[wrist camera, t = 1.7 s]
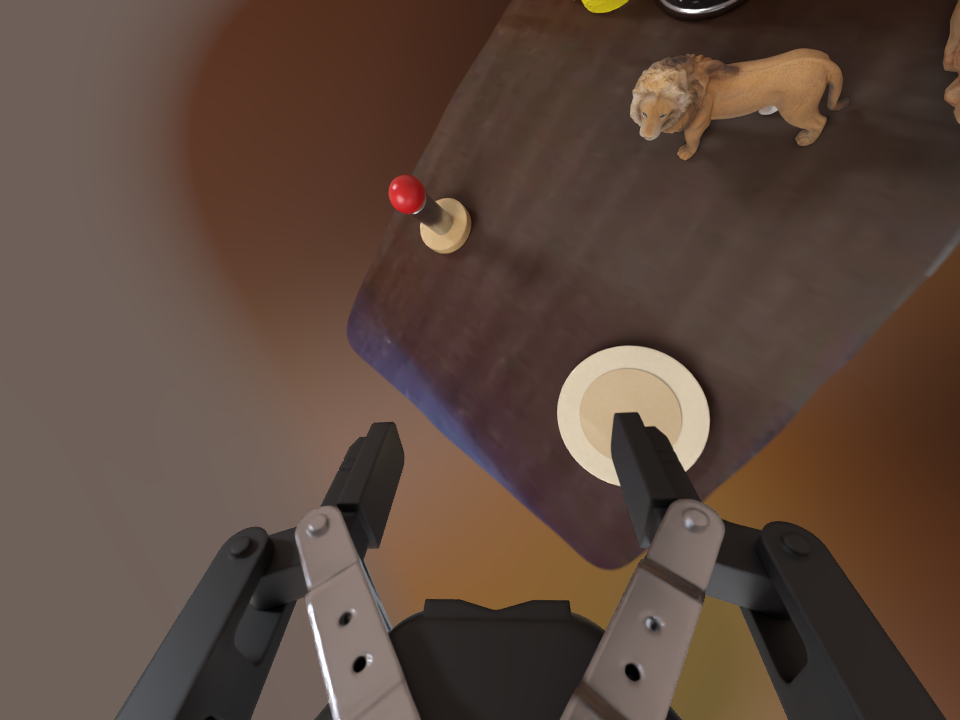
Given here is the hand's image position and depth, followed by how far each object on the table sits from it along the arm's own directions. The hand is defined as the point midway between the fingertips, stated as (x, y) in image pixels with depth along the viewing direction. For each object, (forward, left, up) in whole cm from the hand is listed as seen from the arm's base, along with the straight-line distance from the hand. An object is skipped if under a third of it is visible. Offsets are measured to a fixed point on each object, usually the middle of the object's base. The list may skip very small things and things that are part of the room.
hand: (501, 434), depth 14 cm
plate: (-1, +4, -22) cm, 22 cm away
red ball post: (-12, -20, -22) cm, 32 cm away
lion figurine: (-25, +2, -22) cm, 33 cm away
